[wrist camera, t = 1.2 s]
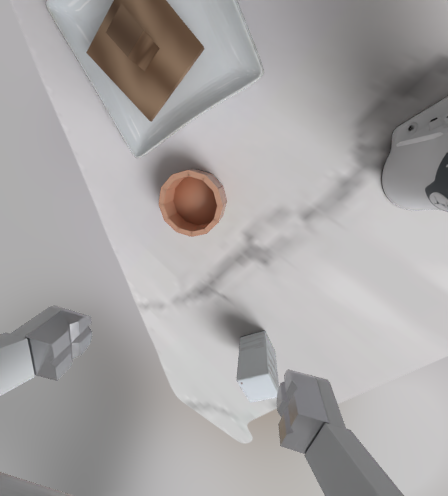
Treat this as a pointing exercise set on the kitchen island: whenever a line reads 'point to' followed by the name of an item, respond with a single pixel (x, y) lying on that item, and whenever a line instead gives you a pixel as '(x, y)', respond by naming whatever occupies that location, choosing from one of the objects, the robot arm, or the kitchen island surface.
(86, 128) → the kitchen island surface
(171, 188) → the terracotta bowl
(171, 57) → the walnut lid
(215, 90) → the square plate
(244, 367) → the supplement box
